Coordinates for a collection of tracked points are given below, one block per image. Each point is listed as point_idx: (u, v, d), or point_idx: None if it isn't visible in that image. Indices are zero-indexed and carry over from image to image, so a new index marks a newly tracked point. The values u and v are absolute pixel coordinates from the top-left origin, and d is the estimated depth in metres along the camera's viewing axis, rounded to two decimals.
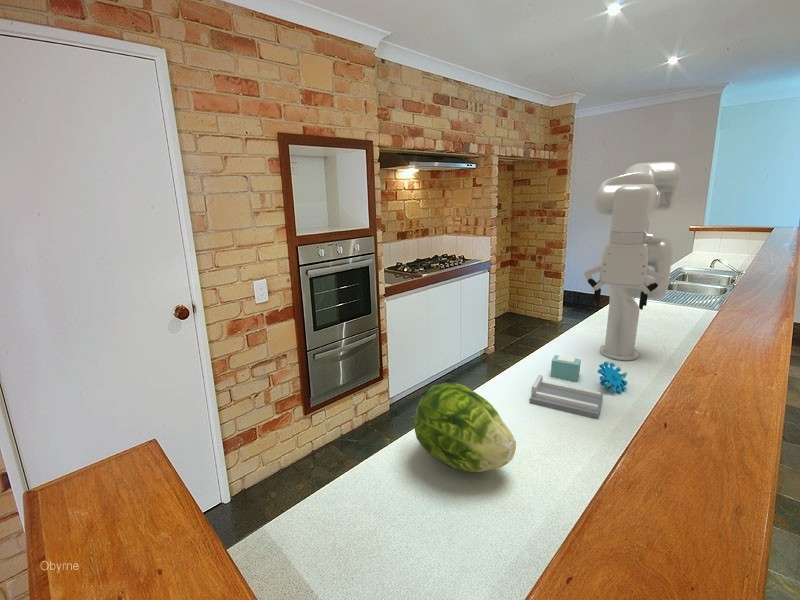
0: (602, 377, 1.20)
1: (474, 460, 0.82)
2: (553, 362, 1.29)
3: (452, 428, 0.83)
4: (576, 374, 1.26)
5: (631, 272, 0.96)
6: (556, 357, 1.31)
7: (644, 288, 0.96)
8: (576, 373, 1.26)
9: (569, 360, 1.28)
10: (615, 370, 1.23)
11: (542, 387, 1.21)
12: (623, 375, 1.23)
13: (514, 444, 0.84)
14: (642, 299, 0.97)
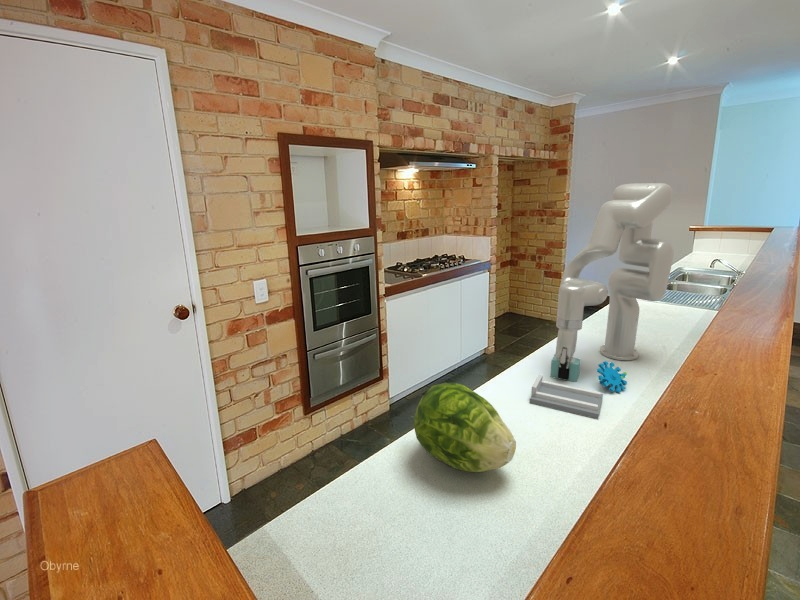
0: (601, 376, 1.20)
1: (474, 460, 0.82)
2: (553, 362, 1.29)
3: (452, 428, 0.83)
4: (576, 374, 1.26)
5: None
6: None
7: None
8: (576, 373, 1.26)
9: None
10: (615, 370, 1.23)
11: (542, 387, 1.21)
12: (623, 375, 1.23)
13: (514, 444, 0.84)
14: None
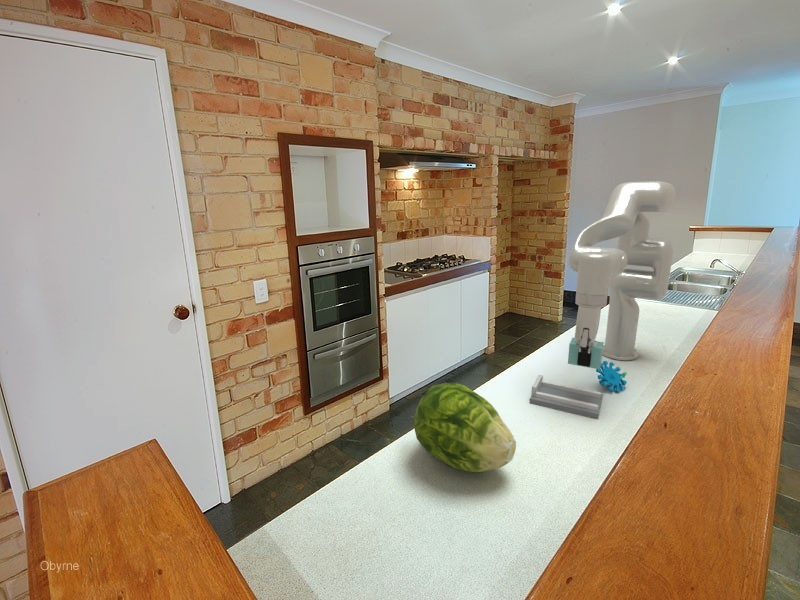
0: (600, 376, 1.20)
1: (474, 460, 0.82)
2: (571, 346, 1.09)
3: (452, 428, 0.83)
4: (599, 360, 1.06)
5: None
6: (574, 340, 1.11)
7: None
8: (599, 358, 1.06)
9: None
10: (614, 369, 1.23)
11: (542, 387, 1.21)
12: (622, 375, 1.23)
13: (514, 444, 0.84)
14: None
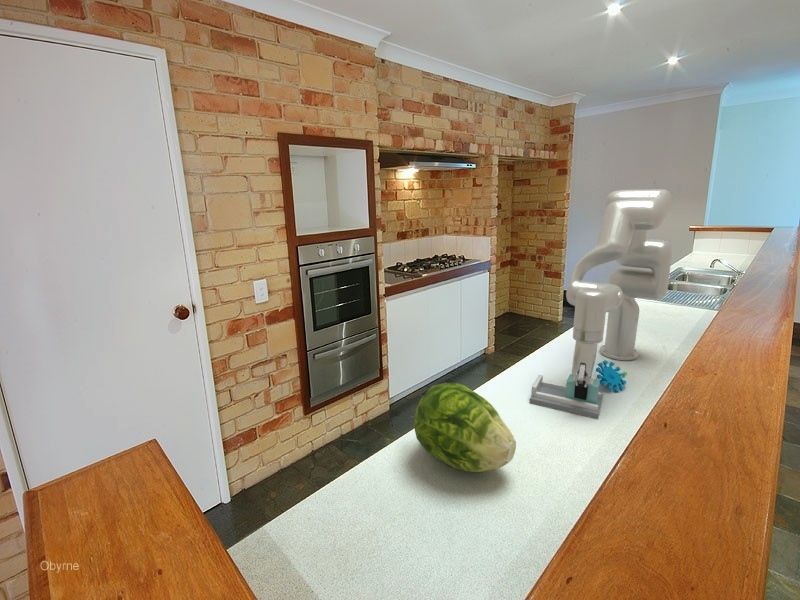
0: (599, 375, 1.21)
1: (474, 460, 0.82)
2: (568, 383, 1.12)
3: (452, 428, 0.83)
4: (595, 397, 1.09)
5: None
6: (571, 377, 1.14)
7: None
8: (595, 396, 1.09)
9: None
10: (614, 369, 1.23)
11: (542, 387, 1.21)
12: (622, 374, 1.23)
13: (514, 444, 0.84)
14: None
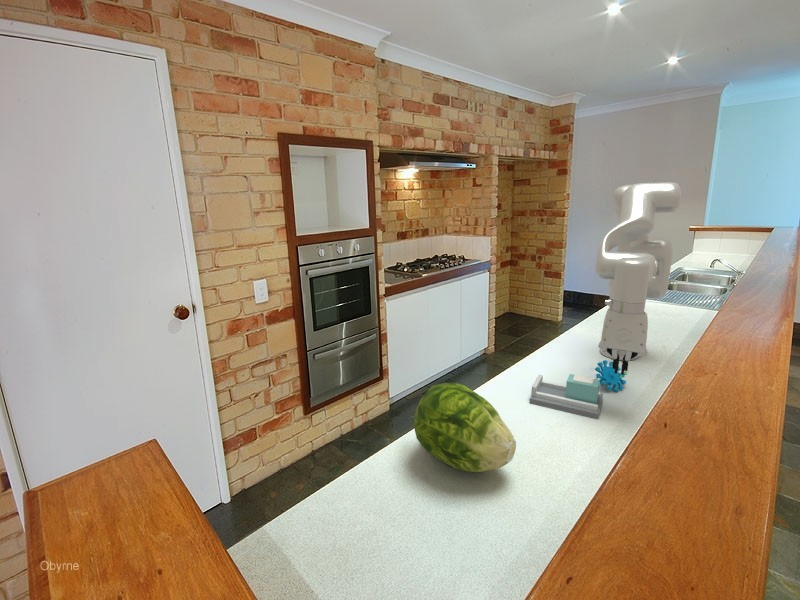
0: (598, 375, 1.21)
1: (474, 460, 0.82)
2: (568, 383, 1.12)
3: (452, 428, 0.83)
4: (595, 397, 1.09)
5: None
6: (571, 377, 1.14)
7: None
8: (595, 396, 1.09)
9: (587, 381, 1.11)
10: (614, 369, 1.23)
11: (542, 387, 1.21)
12: None
13: (514, 444, 0.84)
14: None
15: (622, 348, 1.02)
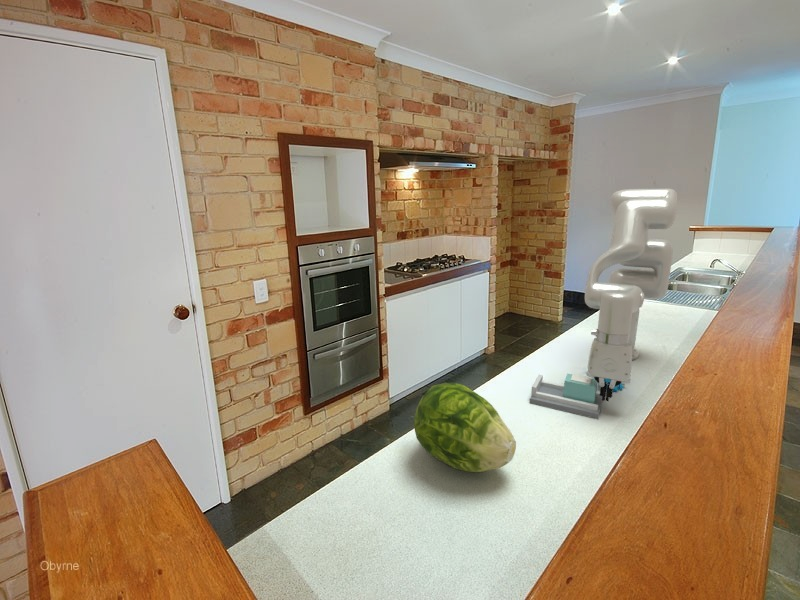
0: None
1: (474, 460, 0.82)
2: (566, 383, 1.12)
3: (452, 428, 0.83)
4: (593, 397, 1.10)
5: None
6: (569, 376, 1.15)
7: None
8: (593, 396, 1.10)
9: (585, 381, 1.11)
10: None
11: (542, 387, 1.21)
12: None
13: (514, 444, 0.84)
14: None
15: (608, 377, 1.06)
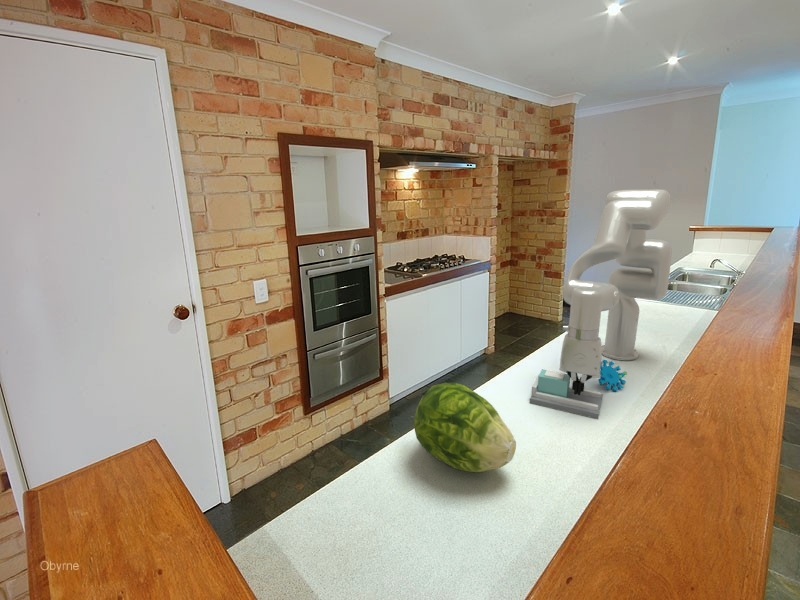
0: None
1: (474, 460, 0.82)
2: (540, 378, 1.16)
3: (452, 428, 0.83)
4: (565, 392, 1.13)
5: None
6: (543, 372, 1.18)
7: None
8: (565, 391, 1.13)
9: (557, 376, 1.15)
10: (613, 368, 1.24)
11: None
12: (622, 374, 1.23)
13: (514, 444, 0.84)
14: None
15: (578, 371, 1.09)
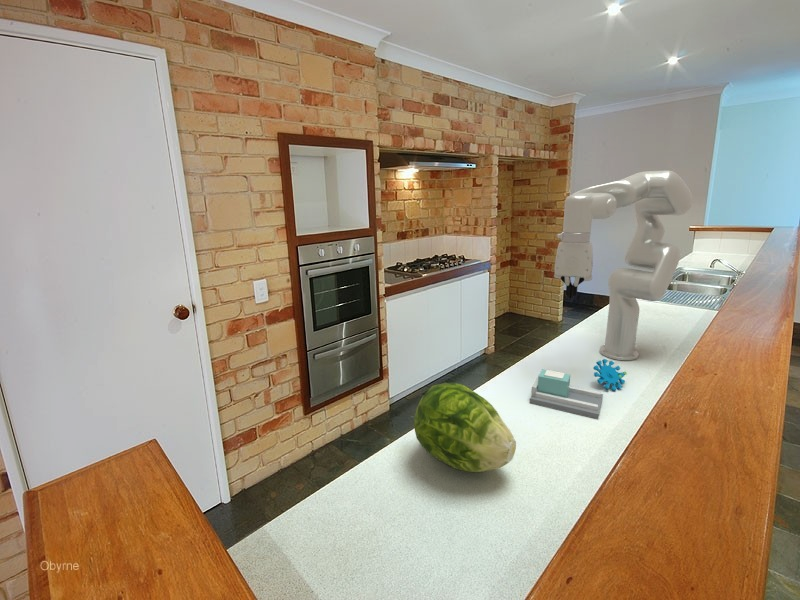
0: (596, 373, 1.22)
1: (474, 460, 0.82)
2: (540, 378, 1.16)
3: (452, 428, 0.83)
4: (565, 392, 1.13)
5: None
6: (543, 372, 1.18)
7: None
8: (565, 391, 1.13)
9: (557, 376, 1.15)
10: (613, 368, 1.24)
11: None
12: (621, 374, 1.23)
13: (514, 444, 0.84)
14: None
15: (571, 274, 1.18)
